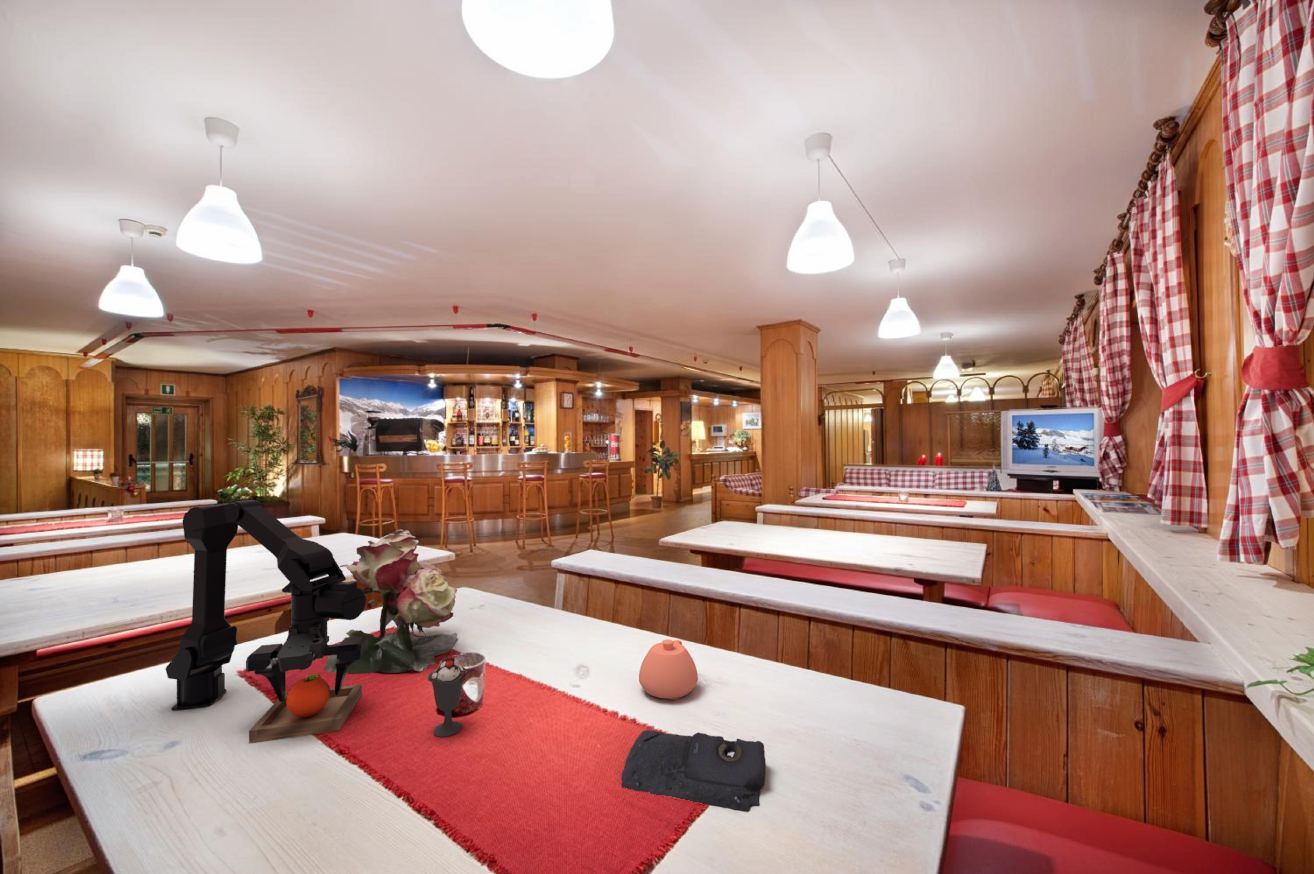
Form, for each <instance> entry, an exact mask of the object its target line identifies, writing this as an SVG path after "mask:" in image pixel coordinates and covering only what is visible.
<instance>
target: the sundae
mask: <svg viewBox="0 0 1314 874" xmlns="http://www.w3.org/2000/svg"><path fill="white" fill-rule="evenodd" d="M450 650H451V651H449V654H448V656H443V657H442V659H441V660H440V661H439V664H438V667H437V668H436V669H434V670H432V671H431V672H430V673H428V675H427V681H428V682H431V684H432V688H433V689H432V690H433V696H434V702H435V705H436V706H435V707H436V708H438V709H439V710H440V711H442V712H443V713H444V717H443V722H442V723H440V724H438V725H437V726H435V728H434V729H433V731H432V732H433V735H434V736H436V737H440V738H447V737H450V736H454V735H456V734H457V733H459V732H460V731H461V730H462V729H463V724H462V722H461V721H460V722H459V721H455V720H453V715H452V711H453V710H454V709H455V708H456V707H457V705H458V704H459V703H460V699H461V696H462V695H461V694H462V689H463V686H462V685H463V679H464V677H466V675H467V673H468V669H466V668H465V667H464V666H462V665H461V664H460V663H459V661H458V659H457V658H456V657H455V655H454V654H452V653H453V652H454V649H453V648H451V649H450Z"/></svg>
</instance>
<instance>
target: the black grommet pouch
mask: <svg viewBox="0 0 1314 874" xmlns="http://www.w3.org/2000/svg"><path fill="white" fill-rule="evenodd" d="M729 753H733V755H730V754H729ZM728 754H729V755H728ZM765 755H766V753H765V744H764V743H763V742H761V740H757V741H754V740H753V741H752V740H744V739H741V738H736V739H735V740H725V739H724V737H723V736H720V735H709V734H707V733H703V732H702V733H701V732H696V733H694V734H693V735H684V734H683V735H682V734H677V733H676V734H675V733H664V732H663V731H657V730H649V729H647V730H643V731H641V733H639V735H638V736H637V738H636V739H634V743H633V745H632V746H631V748H630V750H629V752H628V755H627V756H626V759H625V763H624V767H623V768H624V769H623V770H622V773H621V787H622V788H624V787H625V788H624V789H626V788H630V789H629V790H631V789H633V790H635V791H634V792H642V793H647V792H650V793H653V794H652V795H654V794H656V795H655V796H658V795H665V796H672V797H676V798H680V799H685V800H690V801H693V802H692V803H694V802H699V803H702V804H701V805H706V806H711V807H716V808H717V807H718V808H722V809H727V810H732V811H738V812H744V813H747V812H749V810H751V808H752V807H760V806H761V804H760V798H761V790H762V789H763V788H764V786H765V782H766V781H765V780H766V766H767V765H766V763H767V762H766V756H765ZM633 790H632V791H633ZM690 801H689V802H690ZM699 803H698V804H699Z"/></svg>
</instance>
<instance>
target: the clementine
mask: <svg viewBox="0 0 1314 874" xmlns="http://www.w3.org/2000/svg"><path fill="white" fill-rule="evenodd" d="M330 688H331V687H330V686H329V683H328V682H327V680H325V679H324V678H322V677H321V674H320V673H319V674H311V675H308V676H307V677H303V678H301V679H300V680H299V681H298V680H297V682H296V683H294V685H292V687H291V688H290V690H289V691H288V692H287V693H288V695H287V700H286V704H287V708H288V710H289V711H290V713H292V714H293V715H294V716H297V717H309V716H312V715H314V714H316V713H318V712H319V711H320V710H321V709H323V707H324V706H325V705H326V703H327V702H328V700H329V696H330Z"/></svg>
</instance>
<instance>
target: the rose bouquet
mask: <svg viewBox="0 0 1314 874" xmlns="http://www.w3.org/2000/svg"><path fill="white" fill-rule="evenodd" d="M416 538H417V537H416V536H414V535H412V534H411V533H410V531H409V530H408V529H406V530H405V529H404V530H403V529H397V530H395V531H392V533H389V534H387V535H385V536H382V537H380V538H379V540H378V541H377V542H374V541H372V540H368V541H367V543H368V545H362V546H359V547H357V548H356V554H357V555H359V559H358V561H355V560H354V561H353V563H351V564H342V565H339V568H343V567H344V568H346V569H347V570H348V571H349V572H350V574H352V575H351V576H352V578H353V579H354V580H355V582H357V583H359V584H360V585H361V586H362V587H365V588H362V589H361V590H362V591H363V592H364V595H365V596H366V595H368V594H372V593H377V594H380V595H379V598H380V599H381V597H382V608H381V609H380V610H381V611H380V618H379V633H380V634H379V635H378V636H374V634H371V633H367V632H364V631H363V630H361V629H359V630H357V629H350V630H349V631H347V632H346V633H345V634H346V635H347V636H348V637H355V636H365V637H366V638H367V640H368V649H367V650H366V652H365V653H364V655H363V656H362V657H361V659H358V660H356V661H355V662H354V663H353V664H351V665H350V666H349V668H348V670H347V673H346V674H371V673H376V672H382V673H388V674H389V673H392V674H394V673H395V674H396V673H398V674H399V673H400V674H401V673H407V672H410V671H416V672H423V671H425V670H426V669H427V668H428V667H429V666H430V665H434V666H435V665H436V662H435V657H436V656H440V655H443V654H447V653H449V652H450V650H451V649H453V647H454V645H455V644H456V643H455V642H456V640H457V637H458V633H457V632H454V633H451V634H449V633H447V634H446V633H436V634H431V635H427V634H426V631H424V630H423V628H425V629H430V628H432V627H433V628H434V627H440V626H441V625H440V624H441V623H445V622H447V621H449V620H450V619H452V617H454V614H455V613H454V612H452V611H453V608H454V606H455V605H456V604H455V603H456V597H457V596H456V594H457V592H458V589H457V588H456V587H453V586H450V585H449V583H448V581H447V580H446V577H445V574H443V571H442V569H440V568H439V567H438V565H437V564H429V563H423V562H421V561H420V562H419V561H418V557H419V555H420V554H419V553H417V552H416V550H417V548H418V544H420V543H419V540H418V539H416ZM415 552H416V553H415ZM375 603H377V600H376V599H372V600H369V601H368V604H369V605H370V604H375ZM392 621H393V623H394V624H395V625H396V629H395V631H394V632H389V633H388V632H387V631H386V627H387V626H388V625H389V624H390V623H391V622H392ZM415 625H416V629H417V631H418V634H420V633H422V634H423V636H415V631H414V628H415V627H414V626H415ZM410 629H411V631H410ZM337 661H338V659H337V655H329V656H327V660H326V664H325V665H324V667H323V670H325V671H326V672H328V673H336V666H335V664H336V663H337Z"/></svg>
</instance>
